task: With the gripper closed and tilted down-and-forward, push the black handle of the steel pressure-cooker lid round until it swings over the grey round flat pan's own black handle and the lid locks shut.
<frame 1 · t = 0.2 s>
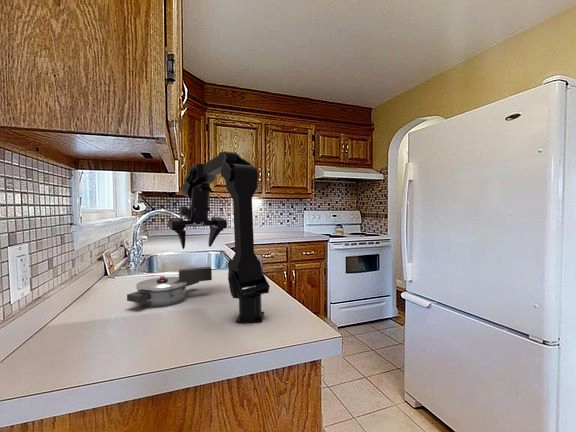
hand: (196, 247, 104), 15 cm above the counter, tool pointing down, fingers open, 9 cm apart
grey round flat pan: (162, 300, 95), on the counter
lid: (175, 277, 97), point 7 cm above the counter, hinge at -40.0°
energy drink: (255, 292, 103), on the counter
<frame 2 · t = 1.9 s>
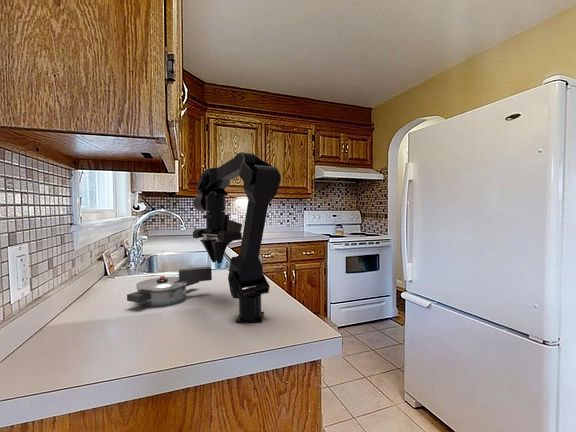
hand: (216, 262, 92), 12 cm above the counter, tool pointing down, fingers open, 3 cm apart
nothing on the counter moved.
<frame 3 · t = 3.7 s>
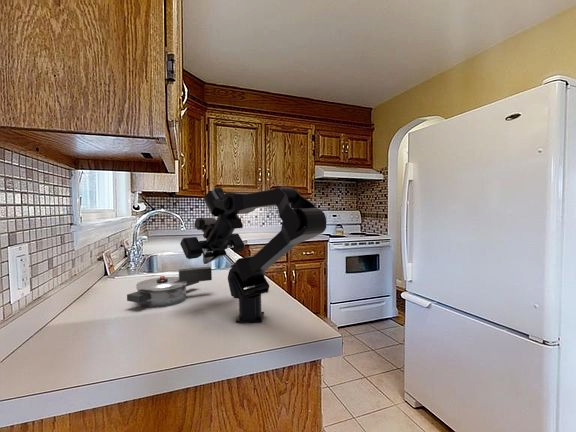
hand: (204, 262, 94), 12 cm above the counter, tool tilted 45°, fingers closed
nothing on the counter moved.
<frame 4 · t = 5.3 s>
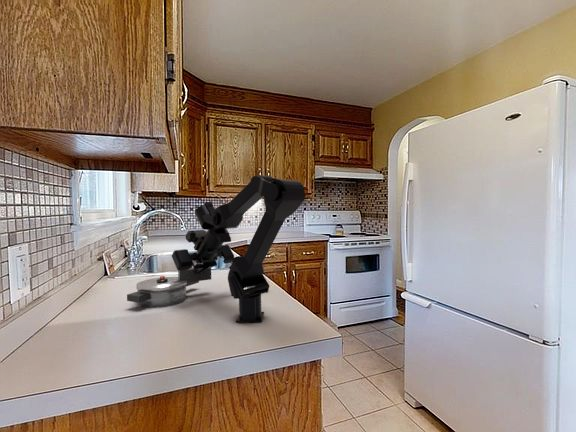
hand: (195, 272, 98), 8 cm above the counter, tool tilted 45°, fingers closed
lid: (175, 277, 97), point 7 cm above the counter, hinge at -36.1°, touching gripper
everything else where it was.
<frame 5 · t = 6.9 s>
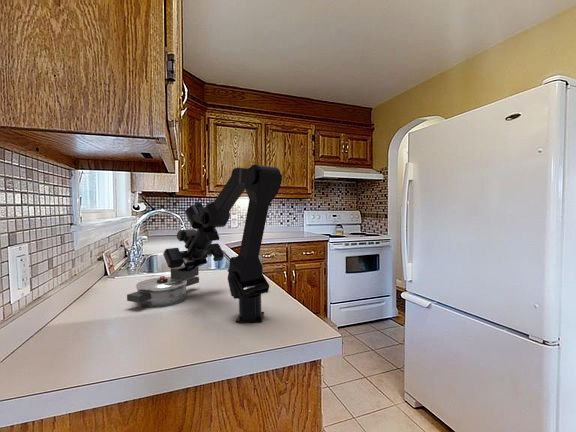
hand: (187, 270, 103), 8 cm above the counter, tool tilted 45°, fingers closed
lid: (171, 275, 99), point 7 cm above the counter, hinge at 1.0°, touching gripper
everything else where it was.
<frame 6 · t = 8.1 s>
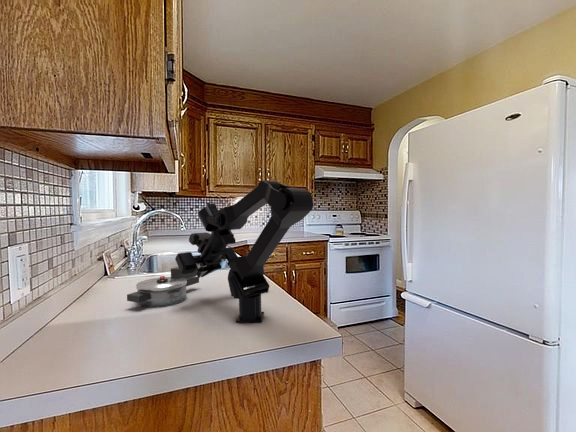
hand: (199, 276, 96), 7 cm above the counter, tool tilted 45°, fingers closed
lid: (171, 275, 99), point 7 cm above the counter, hinge at 0.6°
everything else where it was.
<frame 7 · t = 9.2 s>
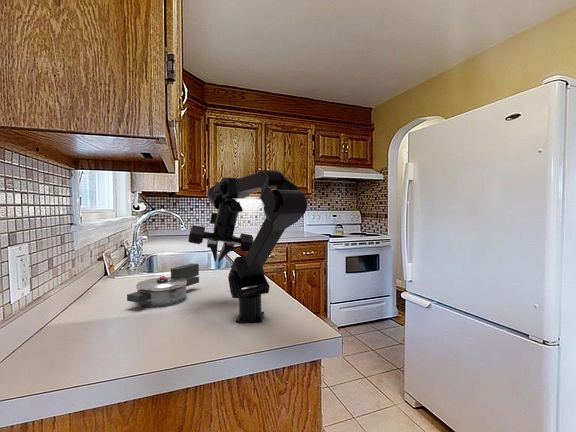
hand: (216, 261, 94), 12 cm above the counter, tool tilted 30°, fingers closed
nothing on the counter moved.
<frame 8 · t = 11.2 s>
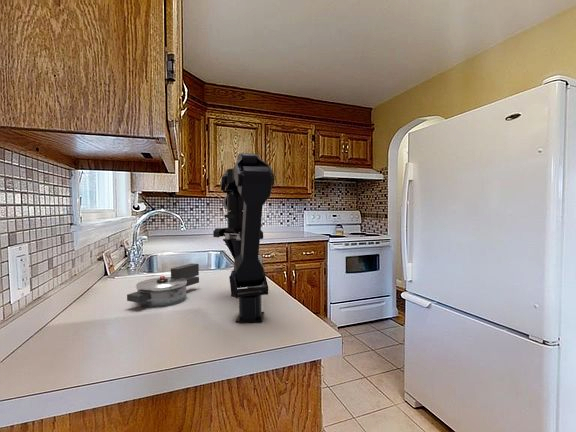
hand: (237, 261, 94), 12 cm above the counter, tool pointing down, fingers closed
nothing on the counter moved.
at the end: lid at +1° (first picture: -40°) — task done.
